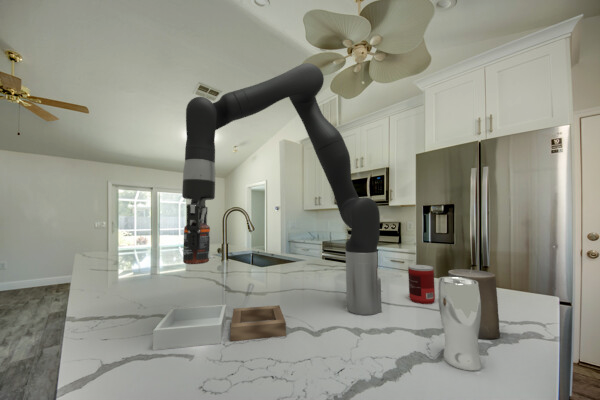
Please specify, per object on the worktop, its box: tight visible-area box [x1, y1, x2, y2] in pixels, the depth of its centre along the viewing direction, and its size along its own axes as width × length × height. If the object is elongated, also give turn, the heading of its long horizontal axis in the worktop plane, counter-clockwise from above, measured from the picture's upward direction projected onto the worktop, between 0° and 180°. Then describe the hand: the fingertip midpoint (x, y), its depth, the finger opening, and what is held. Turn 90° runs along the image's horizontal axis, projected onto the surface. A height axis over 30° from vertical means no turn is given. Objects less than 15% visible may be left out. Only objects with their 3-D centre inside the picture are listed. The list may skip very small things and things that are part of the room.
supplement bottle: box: [182, 216, 211, 265], centre depth 63 cm, size 6×6×11 cm
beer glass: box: [437, 276, 482, 372], centre depth 49 cm, size 7×7×15 cm
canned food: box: [407, 264, 436, 305], centre depth 86 cm, size 8×8×11 cm
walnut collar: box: [230, 305, 287, 342], centre depth 65 cm, size 12×12×3 cm
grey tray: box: [152, 304, 227, 351], centre depth 62 cm, size 14×14×4 cm
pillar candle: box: [448, 267, 501, 340], centre depth 63 cm, size 10×10×15 cm
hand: (196, 247), depth 63 cm, fingers closed on supplement bottle, 6 cm apart
